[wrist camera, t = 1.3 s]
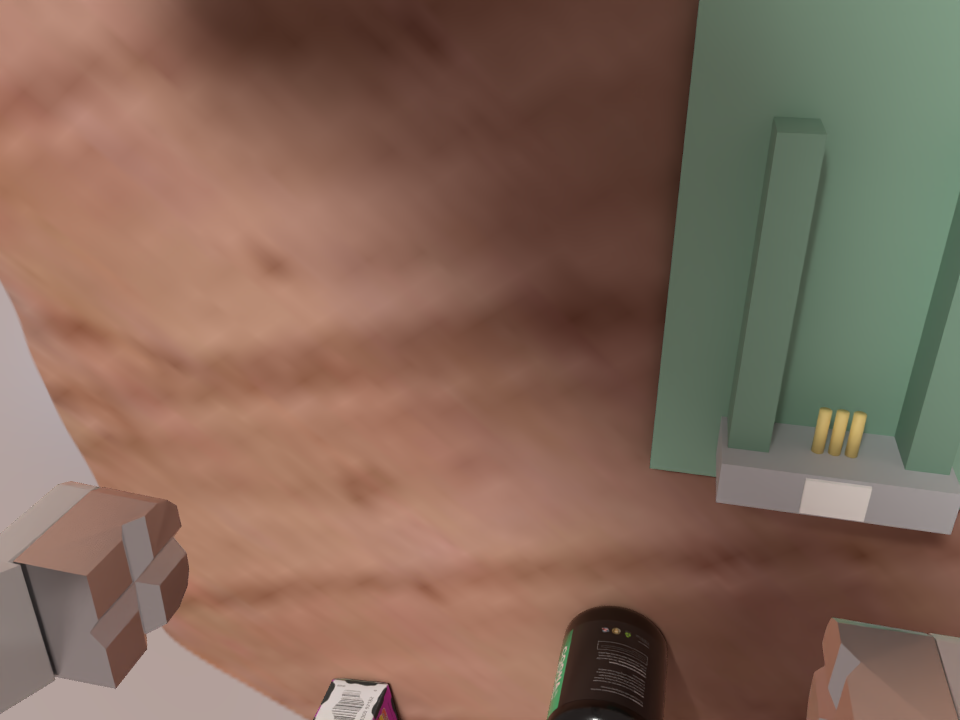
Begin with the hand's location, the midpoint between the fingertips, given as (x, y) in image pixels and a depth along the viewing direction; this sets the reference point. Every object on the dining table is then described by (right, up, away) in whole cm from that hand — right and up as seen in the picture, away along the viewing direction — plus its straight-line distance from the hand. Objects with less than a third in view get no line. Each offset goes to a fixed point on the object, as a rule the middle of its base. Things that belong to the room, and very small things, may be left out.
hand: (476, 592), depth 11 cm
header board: (+19, +8, +31) cm, 37 cm away
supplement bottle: (+9, -16, +47) cm, 50 cm away
